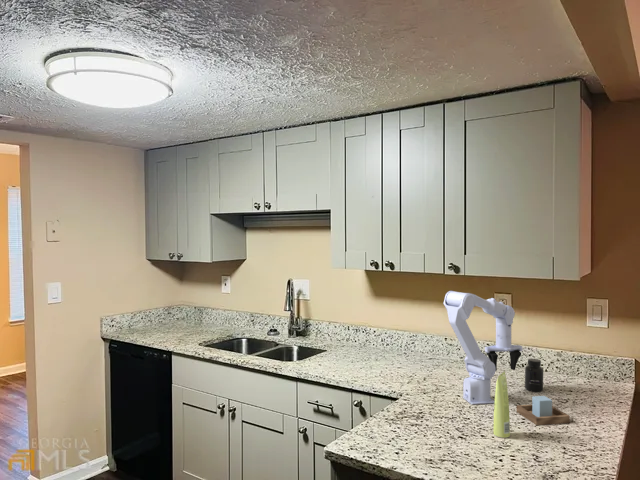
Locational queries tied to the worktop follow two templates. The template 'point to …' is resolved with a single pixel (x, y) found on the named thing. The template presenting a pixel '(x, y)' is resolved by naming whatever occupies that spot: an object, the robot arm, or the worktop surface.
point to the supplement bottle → (534, 376)
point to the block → (541, 406)
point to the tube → (501, 408)
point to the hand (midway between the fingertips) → (503, 369)
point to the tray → (556, 417)
